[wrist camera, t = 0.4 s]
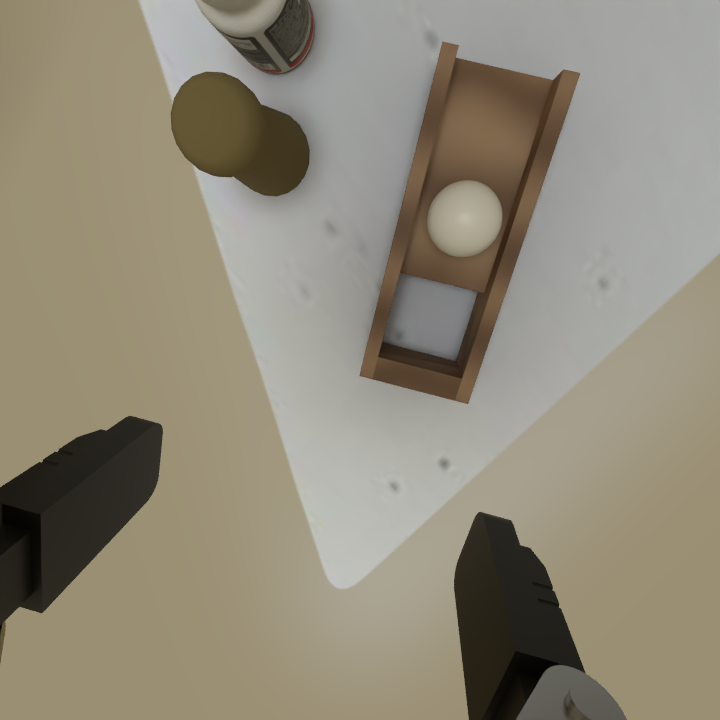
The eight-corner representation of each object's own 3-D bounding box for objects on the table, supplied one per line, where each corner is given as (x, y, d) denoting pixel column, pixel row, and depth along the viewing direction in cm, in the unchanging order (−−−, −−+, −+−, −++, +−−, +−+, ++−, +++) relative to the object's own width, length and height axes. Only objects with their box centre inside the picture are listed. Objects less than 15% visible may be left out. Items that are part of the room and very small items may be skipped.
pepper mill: (325, 157, 33) (286, 123, 22) (270, 213, 34) (209, 205, 24) (271, 90, 32) (203, 22, 21) (216, 151, 34) (129, 115, 23)
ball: (436, 176, 30) (441, 167, 26) (504, 193, 30) (521, 186, 25) (418, 246, 32) (419, 249, 27) (482, 262, 31) (494, 267, 27)
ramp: (438, 67, 30) (442, 41, 26) (556, 94, 30) (580, 73, 26) (365, 359, 37) (359, 375, 33) (461, 384, 37) (468, 404, 33)
